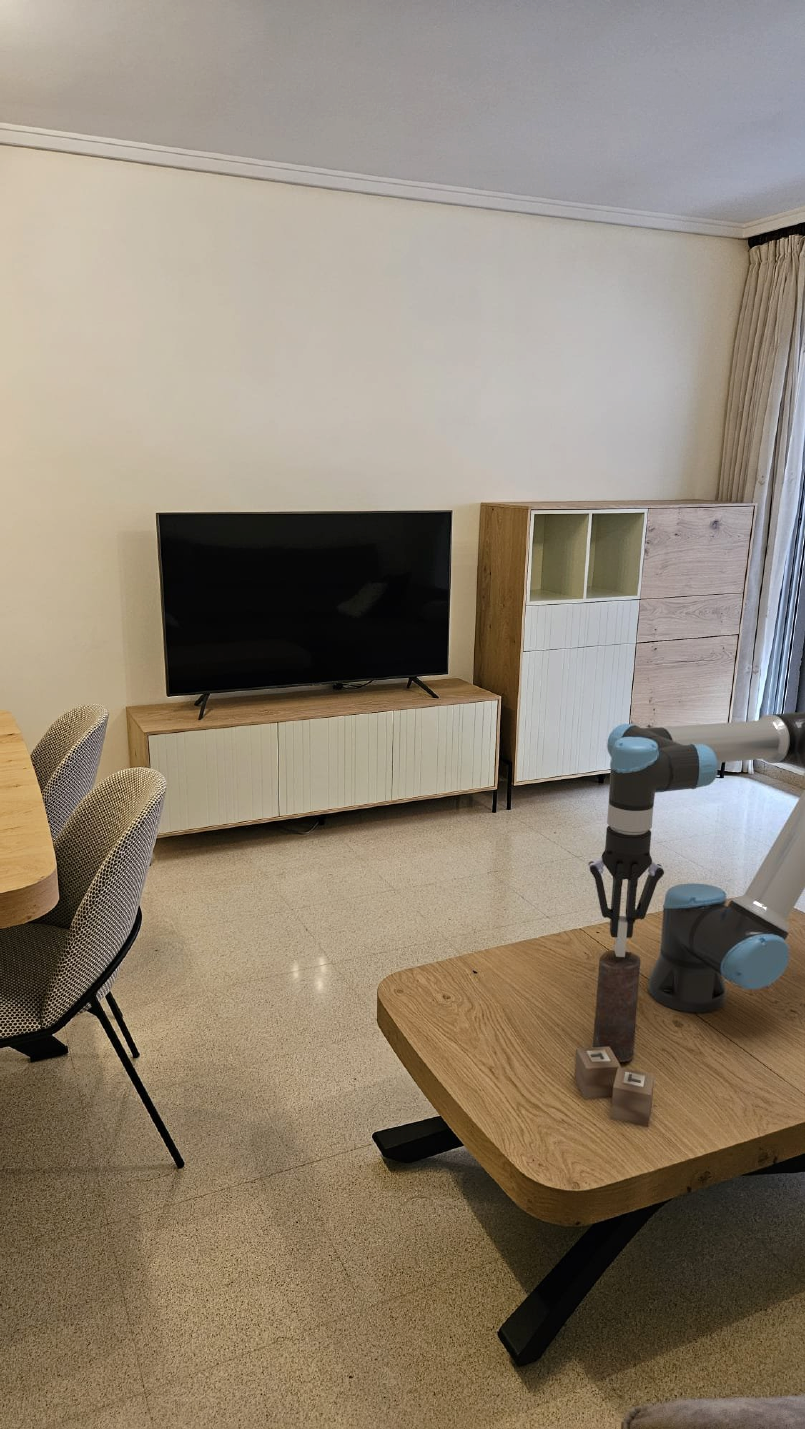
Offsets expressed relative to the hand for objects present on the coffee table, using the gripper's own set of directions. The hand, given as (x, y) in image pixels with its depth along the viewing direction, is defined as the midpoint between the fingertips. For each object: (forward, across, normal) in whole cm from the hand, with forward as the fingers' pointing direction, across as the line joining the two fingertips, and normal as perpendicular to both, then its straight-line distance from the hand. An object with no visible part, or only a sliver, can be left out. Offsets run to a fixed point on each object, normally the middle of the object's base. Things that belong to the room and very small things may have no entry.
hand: (619, 953), depth 174 cm
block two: (+21, +4, +10) cm, 23 cm away
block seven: (+21, -1, +16) cm, 26 cm away
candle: (+21, 0, 0) cm, 21 cm away
